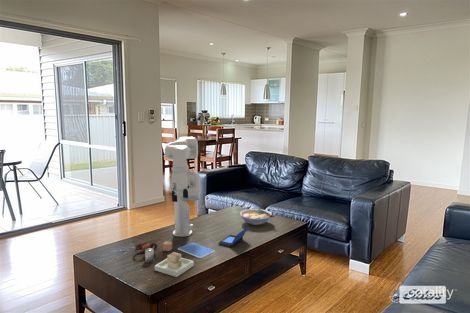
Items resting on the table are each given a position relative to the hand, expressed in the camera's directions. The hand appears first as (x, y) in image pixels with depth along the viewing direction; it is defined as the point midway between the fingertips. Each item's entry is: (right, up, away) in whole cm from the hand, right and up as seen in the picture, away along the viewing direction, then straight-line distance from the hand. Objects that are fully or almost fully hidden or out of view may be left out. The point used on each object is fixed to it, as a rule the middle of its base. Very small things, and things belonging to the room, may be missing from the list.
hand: (180, 199), depth 186 cm
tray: (0, -33, -16) cm, 37 cm away
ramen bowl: (+46, -24, +52) cm, 73 cm away
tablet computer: (+8, -31, +5) cm, 32 cm away
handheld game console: (+30, -29, +17) cm, 45 cm away
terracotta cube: (-8, -30, +6) cm, 31 cm away
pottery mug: (-19, -31, 0) cm, 36 cm away
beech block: (0, -32, -16) cm, 36 cm away
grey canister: (-15, -32, -8) cm, 36 cm away
